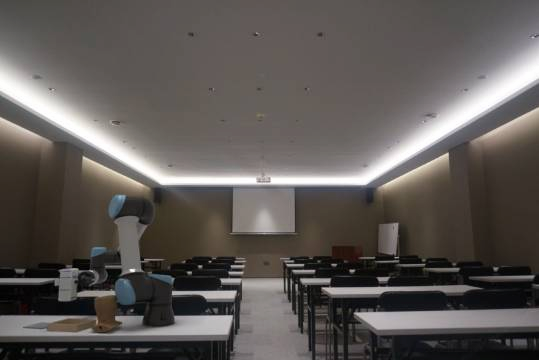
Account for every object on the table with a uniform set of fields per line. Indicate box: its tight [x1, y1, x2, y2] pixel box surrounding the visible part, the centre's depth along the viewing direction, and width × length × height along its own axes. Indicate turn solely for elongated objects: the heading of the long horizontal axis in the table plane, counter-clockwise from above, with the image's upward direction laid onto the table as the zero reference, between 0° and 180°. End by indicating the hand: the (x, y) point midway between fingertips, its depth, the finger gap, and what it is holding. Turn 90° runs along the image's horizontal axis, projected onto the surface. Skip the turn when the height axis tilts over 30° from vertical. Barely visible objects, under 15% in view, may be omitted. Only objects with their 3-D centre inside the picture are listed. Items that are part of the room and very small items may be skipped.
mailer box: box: [46, 317, 98, 333], centre depth 179 cm, size 15×26×3 cm, turn 169°
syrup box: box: [57, 267, 79, 302], centre depth 178 cm, size 6×6×14 cm
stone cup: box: [91, 294, 123, 333], centre depth 170 cm, size 15×12×15 cm
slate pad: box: [22, 321, 49, 330], centre depth 177 cm, size 11×11×1 cm
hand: (62, 282), depth 173 cm, fingers closed on syrup box, 6 cm apart
